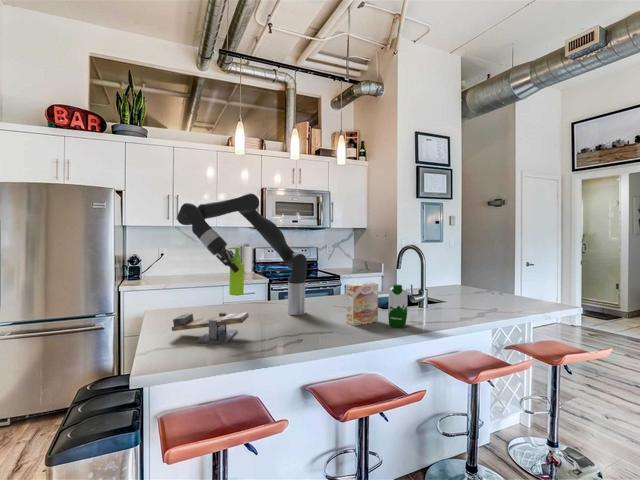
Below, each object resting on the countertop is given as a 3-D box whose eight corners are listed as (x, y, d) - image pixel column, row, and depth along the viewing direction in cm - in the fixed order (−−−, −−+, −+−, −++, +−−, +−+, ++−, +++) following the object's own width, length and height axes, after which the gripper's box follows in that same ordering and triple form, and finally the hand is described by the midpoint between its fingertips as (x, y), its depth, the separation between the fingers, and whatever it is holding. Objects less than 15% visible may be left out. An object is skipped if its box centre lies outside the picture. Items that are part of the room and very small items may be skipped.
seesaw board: (248, 316, 152) (247, 306, 152) (242, 322, 142) (240, 311, 142) (183, 324, 154) (181, 314, 154) (172, 331, 144) (170, 320, 144)
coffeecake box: (353, 326, 167) (353, 285, 166) (345, 322, 173) (345, 283, 172) (378, 322, 174) (378, 283, 173) (370, 319, 180) (370, 281, 179)
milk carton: (387, 327, 165) (387, 285, 165) (389, 322, 174) (390, 282, 173) (406, 328, 163) (406, 286, 162) (407, 323, 171) (408, 283, 170)
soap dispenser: (228, 292, 151) (229, 246, 150) (244, 293, 152) (245, 247, 151) (225, 295, 145) (226, 247, 145) (242, 295, 146) (243, 248, 145)
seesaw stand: (237, 332, 156) (237, 312, 156) (225, 343, 140) (225, 321, 140) (211, 331, 157) (211, 311, 157) (196, 343, 141) (196, 321, 141)
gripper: (213, 236, 141) (241, 266, 141) (225, 235, 156) (250, 263, 155) (200, 248, 142) (228, 278, 141) (213, 247, 156) (238, 274, 155)
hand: (239, 270), depth 148 cm, fingers closed on soap dispenser, 6 cm apart
